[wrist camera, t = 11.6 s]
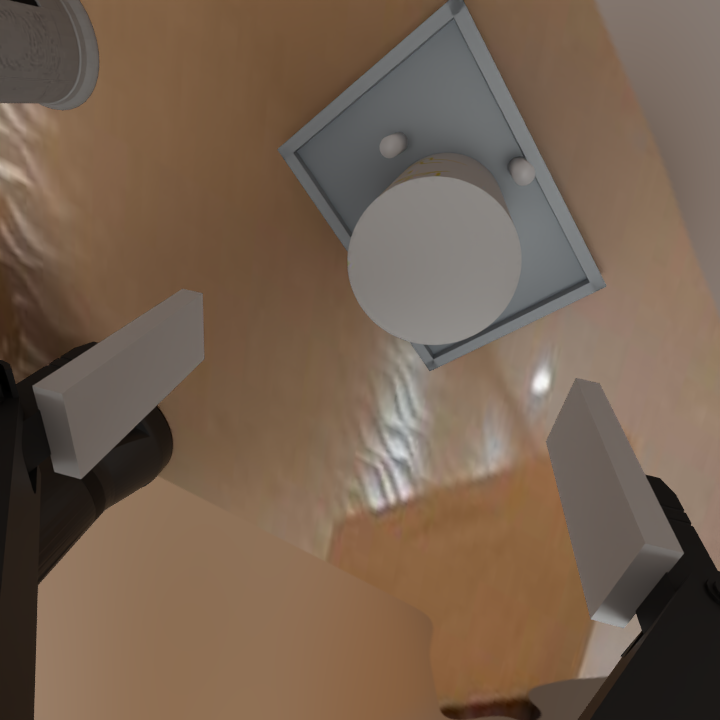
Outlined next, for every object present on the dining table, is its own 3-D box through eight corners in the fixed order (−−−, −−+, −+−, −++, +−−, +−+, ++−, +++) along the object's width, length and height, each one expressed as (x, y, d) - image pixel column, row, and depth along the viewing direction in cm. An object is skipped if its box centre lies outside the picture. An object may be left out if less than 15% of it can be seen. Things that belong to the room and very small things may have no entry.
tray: (287, 147, 33) (258, 153, 29) (459, -2, 27) (457, -22, 23) (431, 359, 39) (426, 392, 34) (599, 276, 33) (619, 303, 28)
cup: (444, 124, 29) (432, 133, 19) (529, 214, 31) (560, 267, 20) (362, 218, 33) (315, 268, 23) (441, 294, 35) (429, 373, 24)
